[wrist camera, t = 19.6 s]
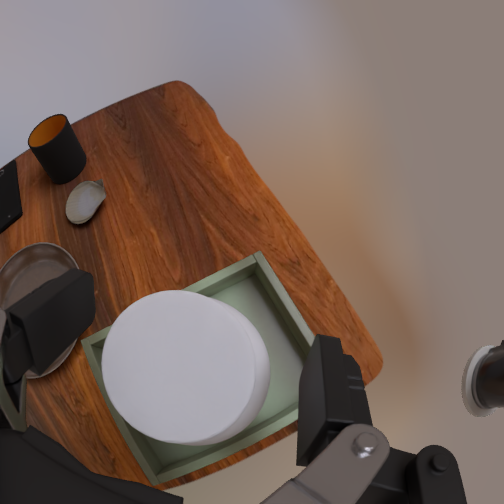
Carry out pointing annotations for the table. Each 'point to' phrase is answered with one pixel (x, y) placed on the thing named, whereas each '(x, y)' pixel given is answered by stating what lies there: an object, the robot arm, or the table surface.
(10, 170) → the cell phone
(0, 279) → the plant saucer
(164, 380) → the pill bottle
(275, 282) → the tray
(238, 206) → the table surface
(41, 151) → the mug
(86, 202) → the seashell
